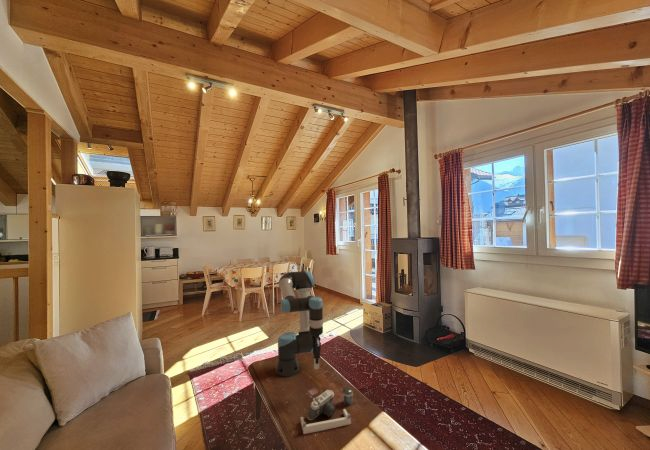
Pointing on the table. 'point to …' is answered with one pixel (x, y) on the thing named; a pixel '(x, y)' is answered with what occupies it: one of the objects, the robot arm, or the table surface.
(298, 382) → the table surface
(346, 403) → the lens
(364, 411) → the table surface
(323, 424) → the bracket
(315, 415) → the camera
